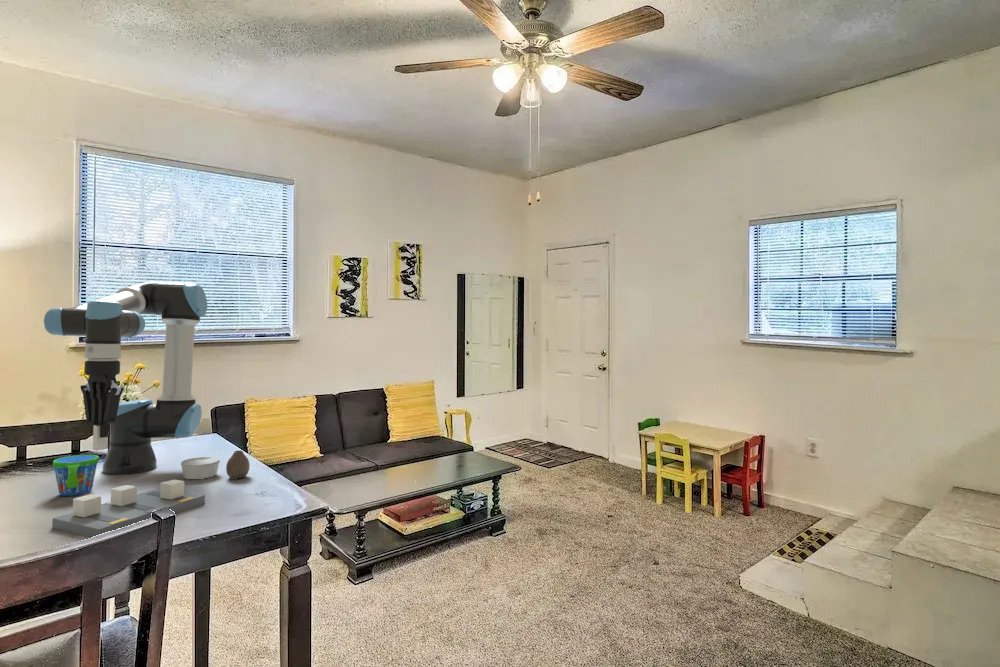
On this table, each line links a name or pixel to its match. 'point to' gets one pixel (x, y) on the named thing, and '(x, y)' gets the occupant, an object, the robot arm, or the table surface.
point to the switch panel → (125, 513)
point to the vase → (237, 465)
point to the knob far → (172, 489)
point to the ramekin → (200, 467)
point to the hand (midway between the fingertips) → (100, 449)
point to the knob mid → (123, 495)
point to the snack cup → (75, 474)
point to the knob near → (86, 505)
